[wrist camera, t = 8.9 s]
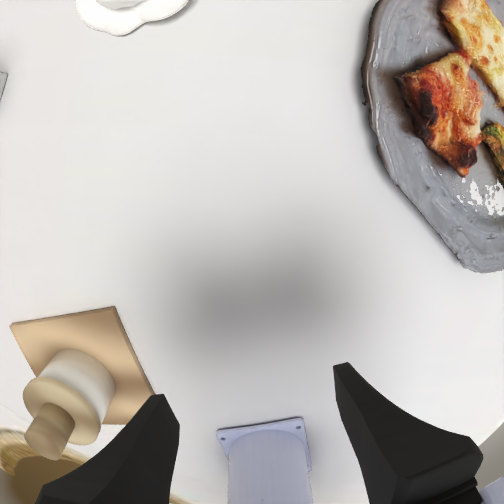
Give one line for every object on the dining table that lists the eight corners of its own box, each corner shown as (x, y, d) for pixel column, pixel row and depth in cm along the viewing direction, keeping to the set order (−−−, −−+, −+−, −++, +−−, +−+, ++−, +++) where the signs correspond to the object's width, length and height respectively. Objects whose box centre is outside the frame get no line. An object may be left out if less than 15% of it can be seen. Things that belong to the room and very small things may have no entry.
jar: (127, 403, 25) (113, 439, 21) (73, 404, 25) (55, 435, 21) (96, 345, 23) (74, 379, 19) (41, 350, 23) (17, 380, 19)
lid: (114, 440, 21) (100, 480, 17) (53, 435, 21) (36, 468, 17) (75, 376, 19) (50, 417, 15) (14, 376, 19) (-12, 408, 15)
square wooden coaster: (167, 418, 26) (166, 422, 26) (68, 419, 27) (66, 422, 26) (114, 306, 22) (111, 310, 22) (12, 323, 23) (9, 326, 22)
